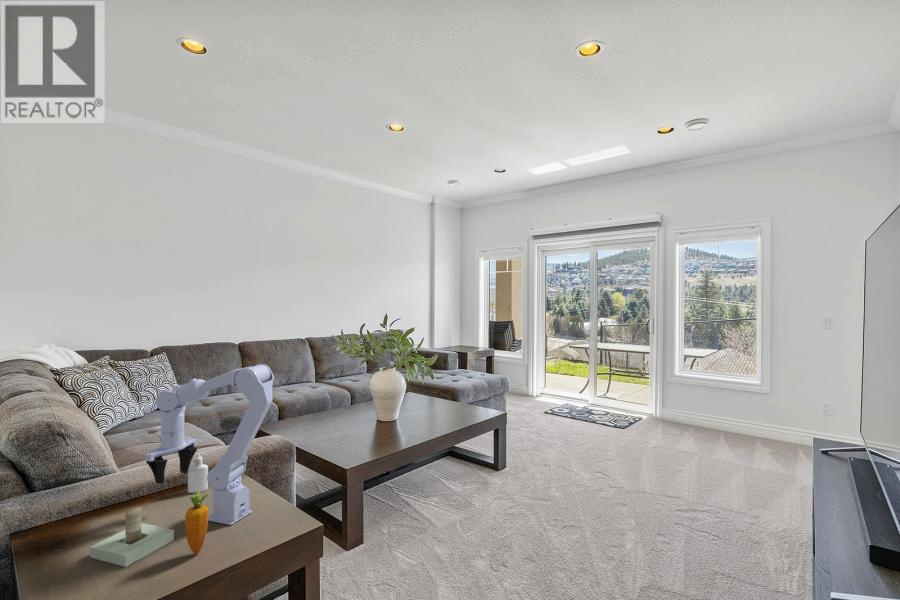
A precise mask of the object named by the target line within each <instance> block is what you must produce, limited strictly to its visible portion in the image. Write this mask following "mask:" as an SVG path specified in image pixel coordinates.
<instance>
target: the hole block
mask: <svg viewBox="0 0 900 600" xmlns="http://www.w3.org/2000/svg"><path fill="white" fill-rule="evenodd" d="M125 531H126V529H123V530H122V531H120V532H117V533H115V534H114V535H111V536H109V537H107V538H105V539H103V540H101V541H99V542H97V543H95V544H94V545H91V546H90V547H89V558H91V559H95V560H98V561H102V562H106V563H108V564H109V563H110V564H114V565H117V566H121V567H124V568H127V567H129V566H130V564H131V565H133V564H134V563H135V561H136V562H138V561H140V560H141V559H143V558H144V557H146V556H149V555H150V554H152V553H153V552H155V551H157V550H158V549H160V548H162V547H164V546H165V545H167V544H170V543H171V542H173V541H175V539H174V538H175V530H174V529H171V528H166V527H161V526H158V525H152V524H150V523H149V524H148V523H144V522H142V527H141V540H139V541H137V542H135V543H133V544H131V545H130V544H126V543H125ZM137 560H138V561H137ZM133 562H134V563H133Z"/></svg>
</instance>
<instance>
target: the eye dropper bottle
mask: <svg viewBox="0 0 900 600" xmlns="http://www.w3.org/2000/svg"><path fill="white" fill-rule="evenodd" d="M208 473H209V466H208V464H204V463H203V456H201V454H200V453H196V457H194V458H193V465H192V466H189V469H188V473H187V493H188V494H196V493H197V492H198V491H200V493H202V492H205V491H207V490H208V489H209V488H208V487H209V484H208V481H207V475H208Z"/></svg>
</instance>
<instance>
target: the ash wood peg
mask: <svg viewBox="0 0 900 600" xmlns="http://www.w3.org/2000/svg"><path fill="white" fill-rule="evenodd" d="M142 510H143V508H142V507H141V506H134V507H130V508H129V509H126V510H125V530H126V531H125V543H126V544H130V545H131V544H133V543H135V542H137V541H139V540H141V527H142V523H143V522H142V521H143V520H142V518H143V517H142V516H143V515H142V514H143V513H142V512H143V511H142Z"/></svg>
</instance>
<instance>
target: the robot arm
mask: <svg viewBox="0 0 900 600" xmlns="http://www.w3.org/2000/svg"><path fill="white" fill-rule="evenodd" d="M274 380H275V376H274V374H273V372H272V370H271V368H270V367H269V365H267V364H264V363H258V364H256V365H251V366H246V367H242V368H237V369H233V370H230V371H228V372H225V373H223V374H219V375H217V376H215V377H213V378H210V379H208V380H204V379H201V378H198V379H197V378H192V379H189V380H188V382H187V383H183V384H177V385H175V386H174V388H172V389H168V390H164V391H161V393H159V394H158V395H157V396H156V400H155V403H156V406H157V409H159V410H160V445H159V447H157V448H156V449H154V450H152V451H149V452H148V453H145V461H146V464H147V465H148V467H149V468H150V470H151V472H152V474H153V477H154V480H155V483H156V484H160V485H161V484H164V482H165V472H166V466H167V463H168V459H164V457H165V456H168V455H171V454H174V453H176V452H177V454H178V458H179V473H181V474H188V469H189V468H190V467H191V466H190V465H191V462H192V460H193V459H194V458H193V457H194V456H195V454H196V452H197V450H198V448H197V447H196V446H197V445H198V439H197V438H194V437H191V438H187V439H185V411H186V406H187V405H190V404H192V403H195V402H197V401H200V400H204V399H205V398H207V397H208V396H209V394H210V391H211V392H212V391H214V390H217V389H220V388H223V387H225V386H229V385H231V387H233V388H235V387H237V388H238V390H239V391H240V392H241V393H242V394H243V395H244V396H245V398H246V399H247V400H248V402H249V406H248V407H247V409H246V412H245V413H244V416H242V419H241V420H240V423H239V425H238V428H237V429H236V431H235V434H234V435H233V437H232V440H231V442H230V443H229V445H228V447H227V449H226V452H225V453H224V454H222V456H221V457H220V459H219V460H218V461H217V462H216V464H215V466H214V467H212V468H211V469H210V470H208V475H207V481H208V486H209V487H210V488H211V491H212V512H211V514H208V522H214V523H219V524H224V525H228V526H232V525H233V524H235V523H238V522H239V521H240V520H242V519H243V518H245V517H247V516H248V515H250V514H252V512H253V510H252V509H251V491H250V489H249V488H248V487H247V486H244V485H243V483H242V476H243V475H244V474H245V472H246V469H247V461H248V458H249V457H248V456H247V454H248V451H249V450H250V448H251V445H252V443H253V441H254V439H255V437H256V435H257V433H258V432H259V430H260V427H261V425H262V423H263V421H264V420H265V417H266V415H267V413H268V411H269V409H270V408H271V405H272V403H273V399H274V398H273V383H274Z"/></svg>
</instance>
